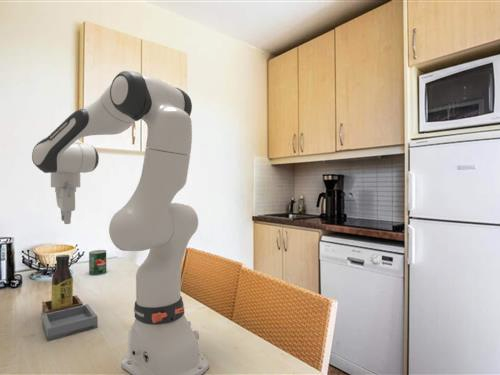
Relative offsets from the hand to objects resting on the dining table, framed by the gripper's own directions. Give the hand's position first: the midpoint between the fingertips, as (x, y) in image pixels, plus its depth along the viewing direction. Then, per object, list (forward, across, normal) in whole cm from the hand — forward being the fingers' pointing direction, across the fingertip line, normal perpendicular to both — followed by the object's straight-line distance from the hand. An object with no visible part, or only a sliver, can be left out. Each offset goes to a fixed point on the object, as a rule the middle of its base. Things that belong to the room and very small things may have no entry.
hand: (65, 222), depth 107 cm
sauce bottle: (+32, 0, +1) cm, 32 cm away
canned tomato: (+33, +46, -18) cm, 59 cm away
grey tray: (+31, -14, 0) cm, 34 cm away
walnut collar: (+32, 0, +1) cm, 32 cm away
